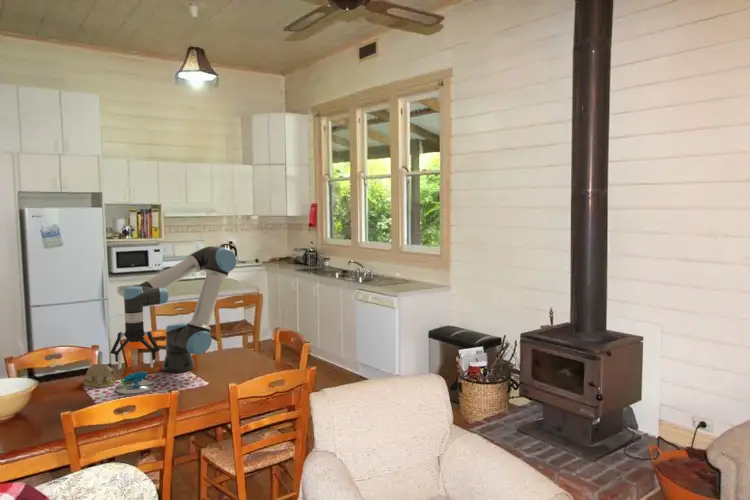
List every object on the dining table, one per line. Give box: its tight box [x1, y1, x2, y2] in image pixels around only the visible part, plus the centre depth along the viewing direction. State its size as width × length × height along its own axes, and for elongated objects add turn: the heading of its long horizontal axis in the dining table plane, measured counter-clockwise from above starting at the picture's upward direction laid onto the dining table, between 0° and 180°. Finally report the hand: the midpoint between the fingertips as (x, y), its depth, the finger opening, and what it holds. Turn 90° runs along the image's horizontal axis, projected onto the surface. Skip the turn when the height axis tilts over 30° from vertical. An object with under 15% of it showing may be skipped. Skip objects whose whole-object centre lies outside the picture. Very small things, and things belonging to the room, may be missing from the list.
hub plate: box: [115, 380, 155, 396], centre depth 251 cm, size 16×16×1 cm
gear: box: [120, 370, 148, 389], centre depth 249 cm, size 11×6×10 cm
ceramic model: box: [83, 362, 116, 388], centre depth 256 cm, size 14×11×10 cm
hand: (136, 367), depth 251 cm, fingers open, 13 cm apart
